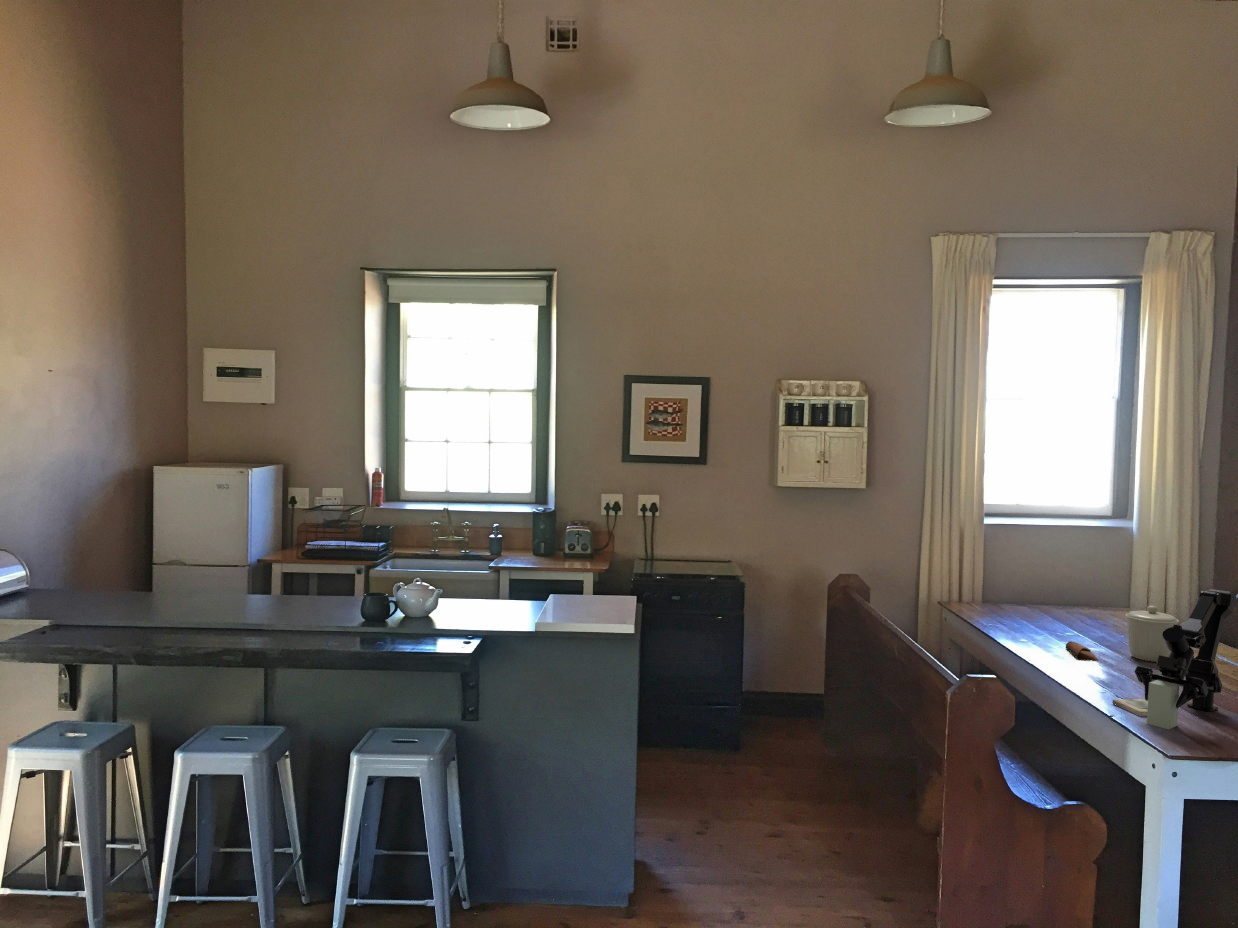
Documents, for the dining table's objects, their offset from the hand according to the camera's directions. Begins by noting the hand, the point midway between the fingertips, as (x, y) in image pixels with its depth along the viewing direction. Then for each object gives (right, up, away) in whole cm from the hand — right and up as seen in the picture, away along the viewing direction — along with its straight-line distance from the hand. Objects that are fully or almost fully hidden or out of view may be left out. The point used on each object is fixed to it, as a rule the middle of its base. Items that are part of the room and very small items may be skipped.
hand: (1161, 703), depth 266 cm
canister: (+45, -5, +82) cm, 94 cm away
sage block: (+1, -7, +1) cm, 7 cm away
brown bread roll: (+21, -4, +86) cm, 88 cm away
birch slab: (+4, -7, +16) cm, 17 cm away
